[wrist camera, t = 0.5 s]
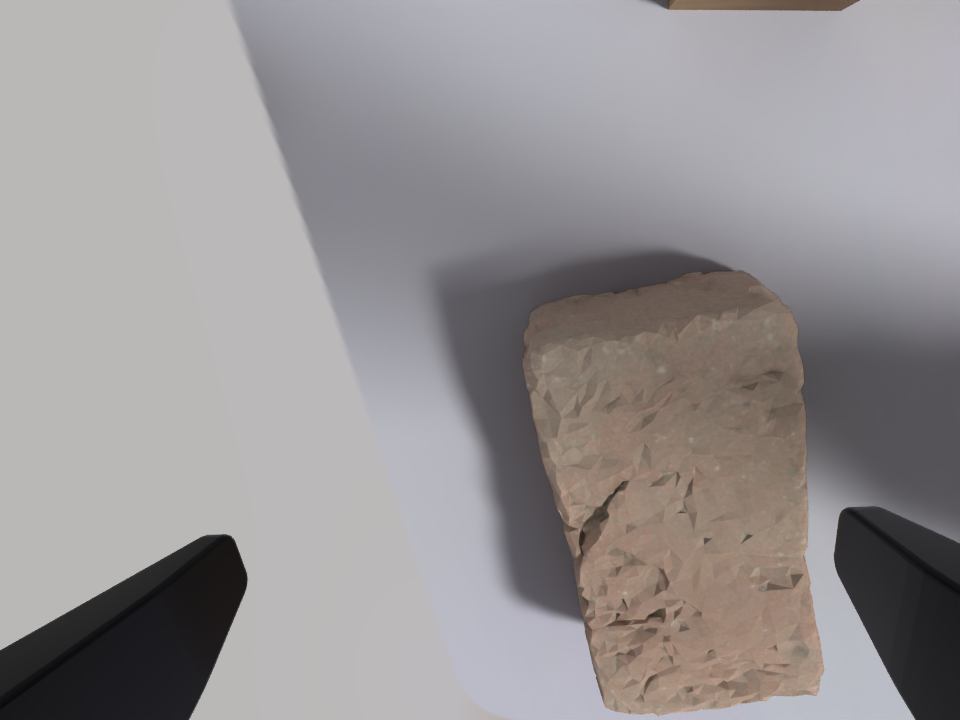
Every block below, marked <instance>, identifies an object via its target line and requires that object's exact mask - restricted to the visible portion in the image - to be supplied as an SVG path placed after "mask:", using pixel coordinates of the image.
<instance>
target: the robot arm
mask: <svg viewBox="0 0 960 720" xmlns="http://www.w3.org/2000/svg"><path fill="white" fill-rule="evenodd" d="M834 562H835V567H836V570H837V573H838V576H839V578H840V580H841V582H842V584H843V586H844V587H845V589H846V591H847V593H848V595H849V597H850V599H851V601H852V603H853V605H854V607H855V609H856V611H857V613H858V615H859V617H860V619H861V621H862V623H863V625H864V627H865V628H866V630H867V632H868V634H869V636H870V638H871V640H872V642H873V644H874V646H875V648H876V650H877V652H878V654H879V656H880V658H881V660H882V662H883V664H884V666H885V667H886V669H887V671H888V673H889V675H890V677H891V679H892V681H893V682H894V684H895V686H896V688H897V690H898V692H899V693H900V695H901V697H902V698H903V700H904V702H905V703H906V705H907V707H908V708H909V710H910V711H911V713H912V715H913V716H914V718H915V720H960V543H958V542H956V541H954V540H951V539H949V538H947V537H945V536H943V535H940V534H938V533H936V532H934V531H932V530H929V529H927V528H925V527H923V526H921V525H918V524H916V523H914V522H912V521H910V520H907V519H905V518H903V517H901V516H899V515H896V514H894V513H892V512H890V511H887V510H885V509H883V508H880V507H875V506H869V507H848V508H846V509H844V510H842V512H841V513H840V516H839V521H838V529H837V536H836V544H835V552H834ZM246 587H247V572H246V569H245V567H244V564H243V561H242V559H241V556H240V553H239V551H238V548H237V545H236V542H235V540H234V539H233V538H232V537H231V536H230V535H226V534H222V535H206V536H203V537H200V538H199V539H197V540H195V541H193V542H191V543H190V544H188V545H186V546H184V547H183V548H181V549H179V550H177V551H176V552H174V553H172V554H170V555H168V556H167V557H165V558H163V559H161V560H160V561H158V562H156V563H154V564H153V565H151V566H149V567H147V568H145V569H144V570H142V571H140V572H138V573H136V574H135V575H133V576H131V577H129V578H128V579H126V580H124V581H122V582H121V583H119V584H117V585H115V586H113V587H112V588H110V589H108V590H106V591H105V592H103V593H101V594H99V595H98V596H96V597H94V598H92V599H91V600H89V601H87V602H85V603H83V604H82V605H80V606H78V607H76V608H74V609H73V610H71V611H69V612H67V613H66V614H64V615H62V616H60V617H58V618H57V619H55V620H53V621H52V622H50V623H48V624H46V625H45V626H43V627H41V628H39V629H37V630H35V631H34V632H32V633H30V634H28V635H27V636H25V637H23V638H21V639H19V640H18V641H16V642H14V643H12V644H11V645H9V646H7V647H5V648H4V649H2V650H0V720H189V719H190V717H191V715H192V713H193V711H194V709H195V707H196V705H197V703H198V701H199V699H200V697H201V695H202V693H203V691H204V689H205V687H206V684H207V682H208V680H209V678H210V675H211V673H212V671H213V668H214V666H215V664H216V661H217V659H218V656H219V654H220V651H221V649H222V647H223V644H224V642H225V639H226V637H227V635H228V632H229V630H230V627H231V625H232V623H233V620H234V617H235V615H236V613H237V610H238V608H239V606H240V603H241V601H242V598H243V596H244V594H245V591H246Z"/></svg>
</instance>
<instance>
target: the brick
mask: <svg viewBox="0 0 960 720" xmlns="http://www.w3.org/2000/svg"><path fill="white" fill-rule="evenodd" d="M797 338H798V327H797V325H796V323H795V321H794V319H793V316H792V312H791V308H790V307H788V306H786V305H784V304H783V303H782V302H781V300H780V298H779V296H777V295H776V294H774V293H773V292H771V291H770V290H768V289H767V288H766V287H765V286H763V285H762V284H761V283H760V282H759V281H758V280H756V279H755V278H754V277H753V276H751V275H750V274H749V273H745V272H744V271H742V270H741V271H713V272H710V273H707V274H703V273H702V272H694V273H688V274H684V275H683V276H681V277H679V278H677V279H675V280H674V279H671V280H670V281H669V282H667V283H657V284H656V285H653V286H646V287H640V288H639V289H628V290H627V291H625V292H619V293H617V294H614V293H613V292H607V293H602V294H598V295H576V296H570V297H567V298H564V299H562V300H558V301H554V302H549V303H545V304H543V305H541V306H540V307H538V308H537V309H535V310H533V311H532V312H531V314H530V317H529V326H528V327H527V329H526V330H525V334H524V337H523V339H524V342H525V345H526V350H525V352H524V359H523V360H522V363H523V370H524V375H525V380H526V385H527V389H528V391H529V393H530V404H531V410H532V416H533V420H534V423H535V426H536V432H537V438H538V443H539V448H540V453H541V458H542V461H543V464H544V468H545V471H546V473H547V476H548V479H549V481H550V484H551V487H552V490H553V496H554V501H555V504H556V507H557V509H558V511H559V513H560V515H561V517H562V519H563V524H564V533H565V536H566V539H567V542H568V544H569V548H570V552H571V555H572V556H573V558H574V573H575V580H576V587H577V593H578V599H579V605H580V610H581V614H582V617H583V618H584V625H585V634H586V638H587V641H588V645H589V650H590V655H591V659H592V664H593V667H594V671H595V674H596V676H597V677H596V679H597V683H598V686H599V689H600V693H601V696H602V699H603V702H604V705H605V707H606V708H609V709H611V710H613V711H616V712H622V713H628V714H648V713H654V714H656V715H658V716H660V715H664V714H668V713H677V712H689V711H697V710H700V709H720V708H726V707H731V706H734V705H737V704H740V703H750V702H756V701H767V700H768V699H769V698H770V697H771V696H799V695H815V696H817V693H818V691H819V685H820V677H821V676H822V674H823V672H824V666H823V660H822V652H821V645H820V638H819V633H818V630H817V626H816V621H815V615H814V609H813V601H812V596H811V592H810V579H809V574H808V569H807V565H806V561H805V556H804V553H805V550H806V548H807V542H808V492H807V476H806V470H807V443H806V409H805V404H804V400H803V397H802V393H801V388H802V386H803V384H804V373H803V363H802V360H801V357H800V354H799V351H798V348H797Z"/></svg>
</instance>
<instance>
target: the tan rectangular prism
mask: <svg viewBox="0 0 960 720" xmlns="http://www.w3.org/2000/svg"><path fill="white" fill-rule="evenodd" d="M858 1H859V0H669V7H668V10H811V11H841V10H843V9H845V8H847V7H849V6H850V5H852V4H854V3H856V2H858Z"/></svg>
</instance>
